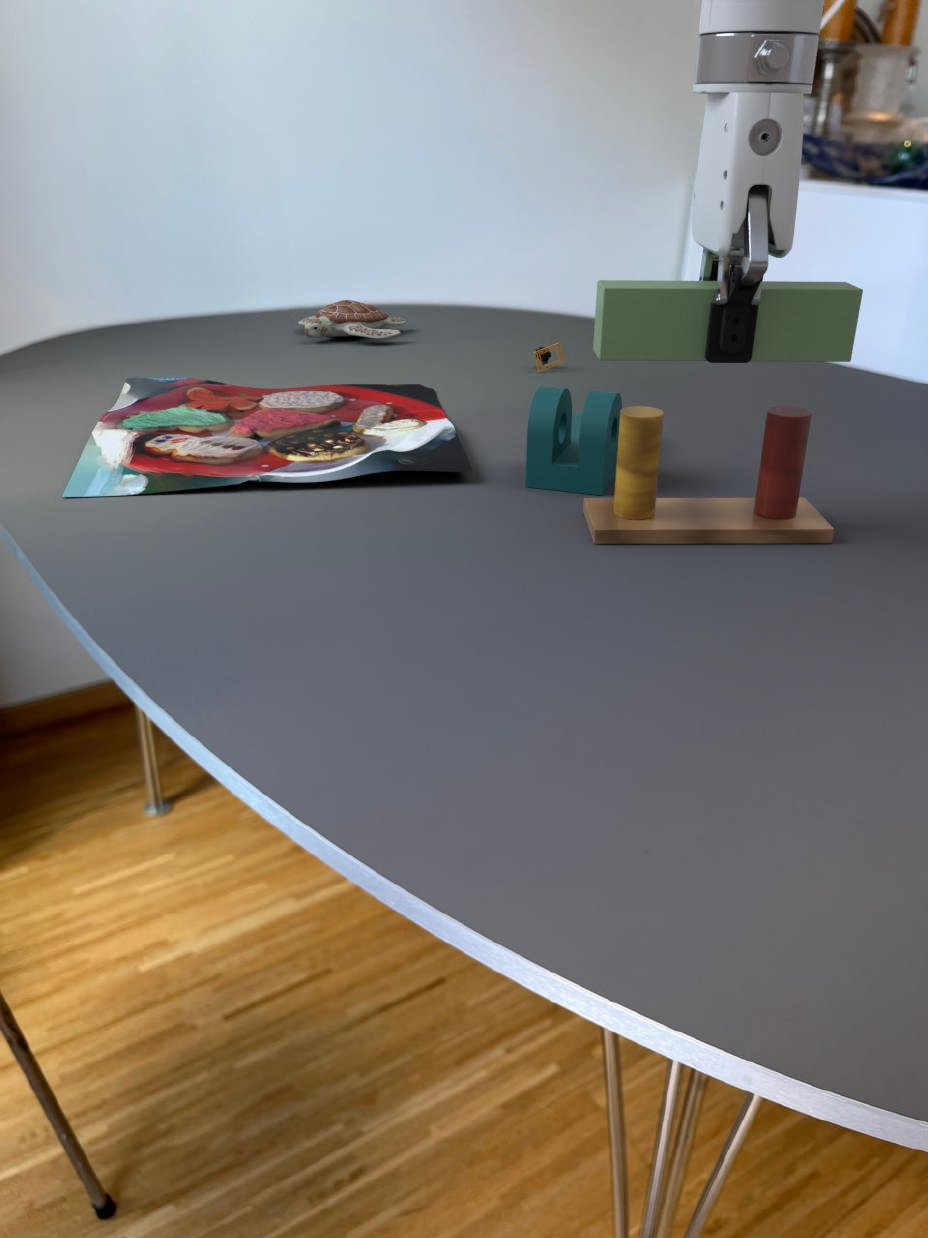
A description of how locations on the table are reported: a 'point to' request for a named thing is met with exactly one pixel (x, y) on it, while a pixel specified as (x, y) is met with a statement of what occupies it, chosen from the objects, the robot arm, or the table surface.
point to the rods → (708, 519)
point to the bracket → (572, 441)
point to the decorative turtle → (350, 321)
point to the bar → (679, 316)
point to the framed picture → (547, 356)
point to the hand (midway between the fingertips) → (720, 352)
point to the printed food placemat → (261, 436)
